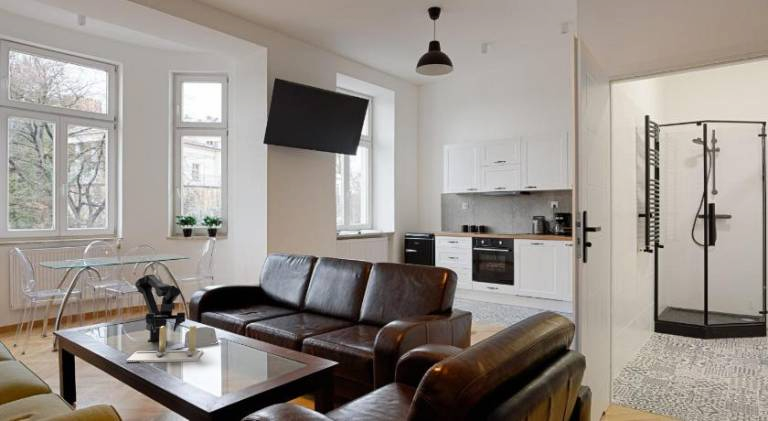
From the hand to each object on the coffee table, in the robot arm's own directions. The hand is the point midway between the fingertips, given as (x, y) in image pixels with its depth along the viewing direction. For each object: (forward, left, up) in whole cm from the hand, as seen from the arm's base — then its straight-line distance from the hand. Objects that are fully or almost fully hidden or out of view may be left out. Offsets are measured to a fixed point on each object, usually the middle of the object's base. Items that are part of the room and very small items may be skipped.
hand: (164, 332), depth 237 cm
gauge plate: (+7, +3, -10) cm, 13 cm away
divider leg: (+8, +1, -9) cm, 12 cm away
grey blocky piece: (-15, +15, -11) cm, 24 cm away
